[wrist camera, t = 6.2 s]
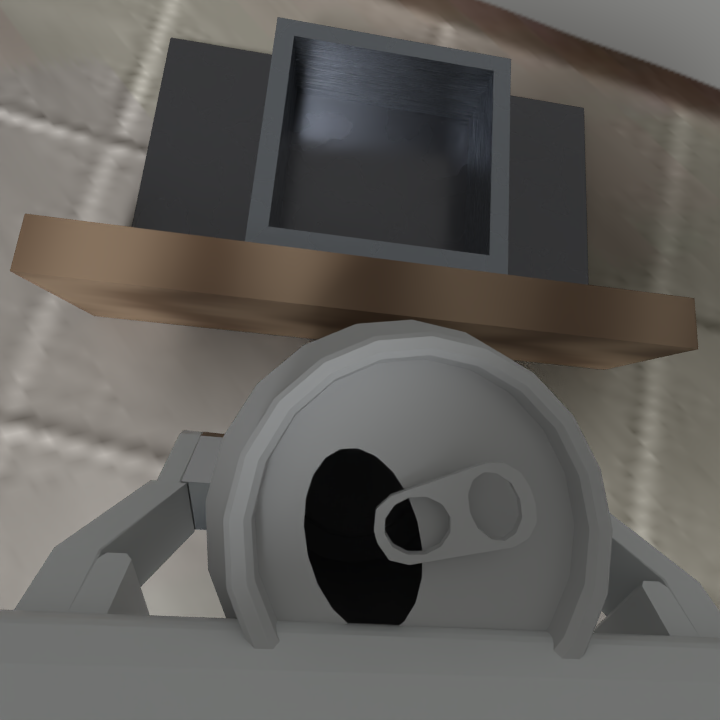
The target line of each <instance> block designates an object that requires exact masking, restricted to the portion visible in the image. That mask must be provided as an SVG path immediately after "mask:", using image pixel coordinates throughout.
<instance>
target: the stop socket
mask: <svg viewBox="0 0 720 720" xmlns="http://www.w3.org/2000/svg"><path fill="white" fill-rule="evenodd" d="M510 79H511V59H508V58H502V57H497V56H491V55H486V54H480V53H474V52H469V51H463V50H458V49H452V48H447V47H441V46H435V45H430V44H424V43H419V42H413V41H408V40H402V39H396V38H391V37H385V36H380V35H374V34H368V33H363V32H357V31H352V30H346V29H341V28H335V27H329V26H324V25H318V24H313V23H307V22H302V21H296V20H290V19H285V18H279V17H278V18H277V25H276V32H275V39H274V46H273V53H272V55H270V54H264V53H258V52H252V51H246V50H240V49H234V48H228V47H223V46H217V45H211V44H205V43H199V42H193V41H187V40H181V39H176V38H171V39H170V44H169V48H168V53H167V58H166V63H165V68H164V73H163V78H162V83H161V88H160V92H159V97H158V102H157V107H156V112H155V117H154V122H153V127H152V131H151V136H150V141H149V146H148V151H147V156H146V161H145V166H144V170H143V175H142V180H141V185H140V190H139V195H138V200H137V205H136V209H135V214H134V219H133V224H132V227H134V228H142V229H150V230H158V231H166V232H174V233H182V234H190V235H198V236H206V237H214V238H222V239H229V240H237V241H245V242H253V243H261V244H269V245H277V246H285V247H293V248H301V249H309V250H317V251H324V252H332V253H340V254H348V255H356V256H364V257H372V258H380V259H388V260H396V261H404V262H412V263H420V264H427V265H435V266H443V267H451V268H459V269H467V270H475V271H483V272H491V273H499V274H507V275H515V276H522V277H530V278H538V279H546V280H554V281H562V282H570V283H578V284H586V285H588V250H587V212H586V174H585V136H584V108H581V107H575V106H569V105H563V104H557V103H551V102H545V101H540V100H534V99H528V98H522V97H516V96H510Z"/></svg>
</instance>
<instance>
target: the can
mask: <svg viewBox="0 0 720 720" xmlns="http://www.w3.org/2000/svg"><path fill="white" fill-rule="evenodd" d="M205 503H206V527H207V551H208V571H209V573H210V576H211V579H212V581H213V584H214V587H215V589H216V592H217V595H218V597H219V600H220V603H221V605H222V608H223V611H224V613H225V616H226V618H231V619H238V621H239V624H240V626H241V629H242V632H243V634H244V637H245V640H246V641H247V642H248V643H249V644H250V645H251V646H252V647H253V648H254V649H274V647H275V646H276V645H277V644H278V643H279V641H280V640H279V638H278V636H277V630H276V623H277V621H298V622H324V623H359V624H385V625H400V626H425V627H449V628H476V629H503V630H528V631H546V632H548V633H550V635H551V636H552V638H553V642H554V651H555V652H556V653H557V654H558V655H559V656H560V657H561V658H562V659H580V658H581V657H582V656H583V655H584V654H585V652H586V650H587V648H588V645H589V642H590V640H591V637H592V634H593V632H594V629H595V626H596V624H597V621H598V618H599V616H600V613H601V611H602V608H603V605H604V603H605V600H606V597H607V595H608V586H609V573H610V560H611V547H612V534H613V528H612V523H611V518H610V513H609V508H608V503H607V498H606V493H605V489H604V484H603V479H602V474H601V469H600V467H599V465H598V463H597V461H596V459H595V457H594V455H593V453H592V451H591V449H590V447H589V445H588V443H587V441H586V439H585V437H584V435H583V433H582V431H581V430H580V428H579V426H578V424H577V422H576V420H575V418H574V416H573V415H572V414H571V412H570V411H569V410H568V409H567V408H566V407H565V406H564V405H563V404H562V403H561V402H560V401H559V400H558V398H557V397H556V396H555V395H554V394H553V393H552V392H551V391H550V390H549V389H548V388H547V387H546V386H545V384H544V383H543V382H542V381H541V380H540V379H539V378H538V377H537V376H536V375H535V374H534V373H533V372H531V371H530V370H528V369H526V368H524V367H523V366H521V365H519V364H518V363H516V362H514V361H513V360H512V359H510V358H508V357H507V356H505V355H503V354H502V353H500V352H498V351H496V350H495V349H493V348H491V347H490V346H488V345H486V344H485V343H483V342H481V341H479V340H478V339H476V338H474V337H473V336H471V335H469V334H468V333H466V332H462V331H458V330H454V329H449V328H445V327H441V326H437V325H433V324H428V323H424V322H420V321H416V320H400V321H387V322H374V323H360V324H355V325H352V326H350V327H347V328H345V329H342V330H340V331H338V332H335V333H333V334H330V335H328V336H325V337H323V338H320V339H318V340H315V341H313V342H310V343H308V344H306V345H303V346H302V347H301V348H300V349H298V350H297V351H296V352H295V353H294V354H292V355H291V356H290V357H289V358H288V359H286V360H285V361H284V362H283V363H282V364H280V365H279V366H278V367H277V368H276V369H274V370H273V371H272V372H271V373H270V374H268V375H267V376H266V377H265V378H264V379H262V380H261V381H260V382H259V383H258V384H257V385H256V386H255V388H254V390H253V391H252V393H251V394H250V396H249V397H248V399H247V400H246V402H245V404H244V405H243V407H242V408H241V410H240V411H239V413H238V415H237V416H236V418H235V419H234V421H233V422H232V424H231V425H230V427H229V429H228V430H227V432H226V433H225V435H224V436H223V439H222V442H221V446H220V450H219V453H218V457H217V461H216V465H215V468H214V472H213V476H212V479H211V483H210V487H209V490H208V494H207V498H206V501H205Z"/></svg>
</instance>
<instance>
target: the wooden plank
mask: <svg viewBox="0 0 720 720" xmlns="http://www.w3.org/2000/svg"><path fill="white" fill-rule="evenodd" d="M10 271H11V272H13V273H15V274H16V275H18V276H20V277H22V278H24V279H26V280H28V281H30V282H32V283H33V284H35V285H37V286H39V287H41V288H43V289H45V290H47V291H48V292H50V293H52V294H54V295H56V296H58V297H60V298H62V299H63V300H65V301H67V302H69V303H71V304H73V305H75V306H77V307H79V308H80V309H82V310H84V311H86V312H88V313H90V314H92V315H94V316H100V317H110V318H119V319H129V320H138V321H148V322H157V323H166V324H176V325H185V326H195V327H204V328H214V329H223V330H233V331H242V332H252V333H261V334H271V335H280V336H290V337H299V338H309V339H320V338H323V337H325V336H328V335H330V334H333V333H335V332H338V331H340V330H342V329H345V328H347V327H350V326H352V325H355V324H360V323H374V322H387V321H400V320H416V321H420V322H424V323H428V324H433V325H437V326H441V327H445V328H449V329H454V330H458V331H462V332H466V333H468V334H469V335H471V336H473V337H474V338H476V339H478V340H479V341H481V342H483V343H485V344H486V345H488V346H490V347H491V348H493V349H495V350H496V351H498V352H500V353H502V354H503V355H505V356H507V357H508V358H510V359H512V360H517V361H527V362H536V363H546V364H555V365H565V366H574V367H584V368H593V369H603V370H605V369H609V368H614V367H618V366H623V365H627V364H632V363H637V362H641V361H646V360H650V359H655V358H659V357H664V356H669V355H673V354H678V353H682V352H687V351H692V350H696V349H698V339H697V326H696V313H695V300H694V298H689V297H681V296H673V295H665V294H657V293H649V292H641V291H633V290H625V289H618V288H610V287H602V286H594V285H586V284H578V283H570V282H562V281H554V280H546V279H538V278H530V277H522V276H515V275H507V274H499V273H491V272H483V271H475V270H467V269H459V268H451V267H443V266H435V265H427V264H420V263H412V262H404V261H396V260H388V259H380V258H372V257H364V256H356V255H348V254H340V253H332V252H324V251H317V250H309V249H301V248H293V247H285V246H277V245H269V244H261V243H253V242H245V241H237V240H229V239H222V238H214V237H206V236H198V235H190V234H182V233H174V232H166V231H158V230H150V229H142V228H134V227H127V226H119V225H111V224H103V223H95V222H87V221H79V220H71V219H63V218H55V217H47V216H39V215H31V214H25V215H24V219H23V223H22V227H21V231H20V234H19V238H18V242H17V246H16V250H15V253H14V257H13V261H12V265H11V269H10Z"/></svg>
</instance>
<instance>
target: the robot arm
mask: <svg viewBox="0 0 720 720" xmlns="http://www.w3.org/2000/svg"><path fill="white" fill-rule="evenodd" d="M224 435H225V434H219V433H209V432H196V431H187V430H184V431H183V432H182V433H181V434H180V435H179V436H178V438H177V440H176V443H175V445H174V447H173V449H172V451H171V453H170V455H169V457H168V459H167V461H166V463H165V465H164V467H163V469H162V471H161V473H160V475H159V477H158V479H157V481H156V480H150V481H149V482H147V483H146V484H145V485H143V486H142V487H140V488H139V489H137V490H136V491H135V492H133V493H132V494H130V495H129V496H127V497H126V498H125V499H123V500H122V501H120V502H119V503H117V504H116V505H115V506H113V507H112V508H110V509H109V510H107V511H106V512H105V513H103V514H102V515H100V516H99V517H97V518H96V519H94V520H93V521H92V522H90V523H89V524H87V525H86V526H84V527H83V528H82V529H80V530H79V531H77V532H76V533H74V534H73V535H72V536H70V537H69V538H67V539H66V540H64V541H63V542H62V543H60V544H59V545H57V546H56V547H54V549H53V550H52V552H51V553H50V555H49V557H48V558H47V560H46V561H45V563H44V564H43V566H42V567H41V569H40V571H39V572H38V574H37V575H36V577H35V578H34V580H33V581H32V583H31V585H30V586H29V588H28V589H27V591H26V592H25V594H24V595H23V597H22V598H21V600H20V602H19V603H18V605H17V606H16V608H15V609H14V610H0V720H720V611H719V610H718V608H717V607H716V605H715V604H714V603H713V601H712V600H711V598H710V597H709V595H708V594H707V593H706V591H705V590H704V588H703V587H702V585H701V584H700V583H699V582H698V581H697V580H696V579H694V578H693V577H692V576H690V575H689V574H688V573H687V572H685V571H684V570H683V569H681V568H680V567H679V566H678V565H676V564H675V563H674V562H672V561H671V560H670V559H669V558H667V557H666V556H665V555H663V554H662V553H661V552H659V551H658V550H657V549H656V548H654V547H653V546H652V545H650V544H649V543H648V542H647V541H645V540H644V539H643V538H641V537H640V536H639V535H638V534H636V533H635V532H634V531H632V530H631V529H630V528H629V527H627V526H626V525H625V524H623V523H622V522H621V521H620V520H618V519H617V518H616V517H614V516H613V515H612V514H611V513H610V518H611V523H612V528H613V534H612V547H611V560H610V573H609V586H608V595H607V597H606V600H605V603H604V605H603V608H602V612H603V613H604V614H605V615H606V616H607V617H606V618H605V619H604V620H602V621H601V622H600V623H599V624H598V625H597V626H596V628H595V630H594V633H593V634H592V637H591V640H590V642H589V645H588V648H587V650H586V652H585V654H584V655H583V656H582V657H581V658H580V659H562V658H561V657H560V656H559V655H558V654H557V653H556V652H555V651H554V642H553V638H552V636H551V635H550V633H548V632H546V631H528V630H503V629H476V628H449V627H425V626H400V625H385V624H359V623H324V622H298V621H277V623H276V630H277V636H278V638H279V640H280V641H279V643H278V644H277V645H276V646H275V647H274V649H254V648H253V647H252V646H251V645H250V644H249V643H248V642H247V641H246V640H245V637H244V634H243V632H242V629H241V626H240V624H239V621H238V619H231V618H205V617H179V616H154V615H149V612H148V609H147V605H146V602H145V599H144V596H143V593H142V590H141V586H142V585H143V584H144V583H145V582H146V581H147V580H148V579H149V578H150V577H151V576H152V575H153V574H154V573H155V572H156V571H157V570H158V569H159V567H160V566H161V565H162V564H163V563H164V562H165V561H166V560H167V559H168V558H169V557H170V556H171V555H172V554H173V553H174V552H175V551H176V550H177V549H178V548H179V547H180V546H181V545H182V544H183V543H184V542H185V541H186V540H187V539H188V538H189V537H190V536H191V535H192V534H193V533H194V529H197V530H207V527H206V503H205V501H206V498H207V494H208V490H209V487H210V483H211V479H212V476H213V472H214V468H215V465H216V461H217V457H218V453H219V450H220V446H221V442H222V439H223V436H224Z"/></svg>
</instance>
